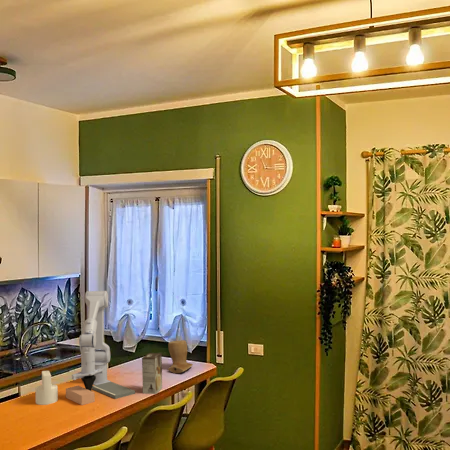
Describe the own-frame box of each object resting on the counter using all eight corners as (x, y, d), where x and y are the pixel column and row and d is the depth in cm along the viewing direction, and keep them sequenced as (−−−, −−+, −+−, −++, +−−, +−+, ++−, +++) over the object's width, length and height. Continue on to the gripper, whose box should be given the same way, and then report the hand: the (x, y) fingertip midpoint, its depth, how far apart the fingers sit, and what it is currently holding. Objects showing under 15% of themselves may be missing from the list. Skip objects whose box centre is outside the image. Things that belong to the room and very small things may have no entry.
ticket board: (91, 389, 250) (91, 385, 250) (111, 384, 257) (110, 381, 257) (115, 399, 235) (115, 395, 235) (135, 394, 242) (135, 390, 242)
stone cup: (174, 365, 289) (174, 337, 289) (195, 367, 286) (194, 338, 285) (161, 373, 275) (161, 343, 275) (183, 375, 271) (183, 344, 271)
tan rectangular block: (65, 397, 238) (65, 388, 238) (78, 394, 242) (78, 385, 242) (81, 405, 228) (81, 395, 228) (94, 401, 232) (94, 392, 232)
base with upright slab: (34, 399, 236) (34, 372, 236) (56, 396, 240) (56, 369, 240) (36, 406, 228) (36, 377, 228) (59, 403, 232) (58, 374, 232)
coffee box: (149, 387, 251) (148, 352, 251) (162, 388, 250) (162, 353, 250) (142, 394, 242) (141, 357, 242) (156, 394, 241) (155, 358, 241)
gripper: (77, 366, 230) (77, 398, 230) (107, 360, 239) (108, 391, 240) (69, 363, 235) (69, 395, 235) (99, 357, 245) (99, 387, 245)
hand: (88, 392), depth 237 cm, fingers closed
